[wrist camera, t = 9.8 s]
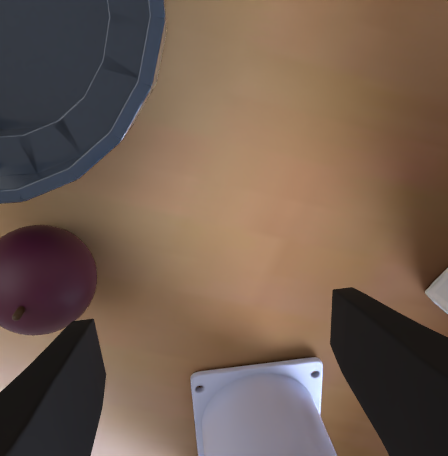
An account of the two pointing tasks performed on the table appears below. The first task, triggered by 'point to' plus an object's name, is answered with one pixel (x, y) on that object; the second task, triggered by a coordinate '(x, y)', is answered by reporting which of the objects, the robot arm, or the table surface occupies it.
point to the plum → (44, 279)
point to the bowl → (71, 85)
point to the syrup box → (439, 291)
